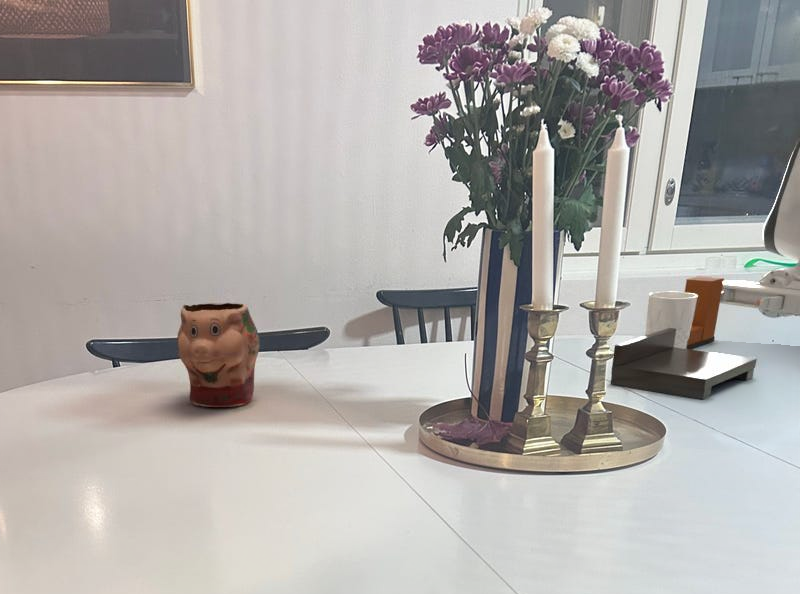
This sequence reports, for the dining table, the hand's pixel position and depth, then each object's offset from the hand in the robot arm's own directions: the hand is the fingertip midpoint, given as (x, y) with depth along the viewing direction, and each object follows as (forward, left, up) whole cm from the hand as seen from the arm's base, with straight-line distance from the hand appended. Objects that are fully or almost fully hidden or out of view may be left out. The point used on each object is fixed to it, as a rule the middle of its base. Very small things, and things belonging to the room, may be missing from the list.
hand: (736, 300), depth 175 cm
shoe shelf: (-10, +40, -6) cm, 42 cm away
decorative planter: (+38, +94, -6) cm, 102 cm away
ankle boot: (+2, +12, -6) cm, 14 cm away
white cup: (+1, +24, -6) cm, 25 cm away
